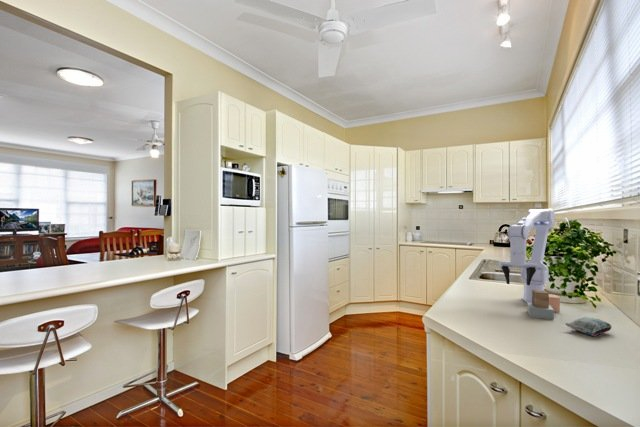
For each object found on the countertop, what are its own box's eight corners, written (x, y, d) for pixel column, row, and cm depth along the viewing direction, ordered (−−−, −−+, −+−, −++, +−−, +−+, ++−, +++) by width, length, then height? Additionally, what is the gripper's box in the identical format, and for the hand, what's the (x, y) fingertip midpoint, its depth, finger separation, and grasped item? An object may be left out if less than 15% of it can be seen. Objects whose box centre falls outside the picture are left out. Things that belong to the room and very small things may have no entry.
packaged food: (565, 331, 114) (565, 317, 114) (583, 326, 119) (583, 312, 119) (595, 340, 106) (595, 325, 106) (613, 334, 111) (613, 319, 111)
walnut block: (531, 304, 134) (531, 289, 134) (544, 305, 133) (544, 290, 133) (535, 307, 130) (535, 292, 130) (548, 308, 128) (548, 292, 128)
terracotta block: (543, 308, 141) (543, 294, 141) (555, 309, 140) (555, 295, 140) (547, 311, 137) (547, 296, 137) (559, 312, 135) (559, 297, 135)
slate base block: (527, 312, 136) (527, 302, 136) (550, 314, 133) (550, 304, 133) (529, 317, 129) (529, 307, 129) (554, 320, 126) (554, 310, 126)
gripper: (501, 253, 139) (501, 284, 139) (540, 254, 134) (540, 287, 134) (497, 251, 146) (497, 281, 146) (535, 252, 141) (535, 284, 141)
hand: (517, 284), depth 140 cm, fingers open, 7 cm apart
